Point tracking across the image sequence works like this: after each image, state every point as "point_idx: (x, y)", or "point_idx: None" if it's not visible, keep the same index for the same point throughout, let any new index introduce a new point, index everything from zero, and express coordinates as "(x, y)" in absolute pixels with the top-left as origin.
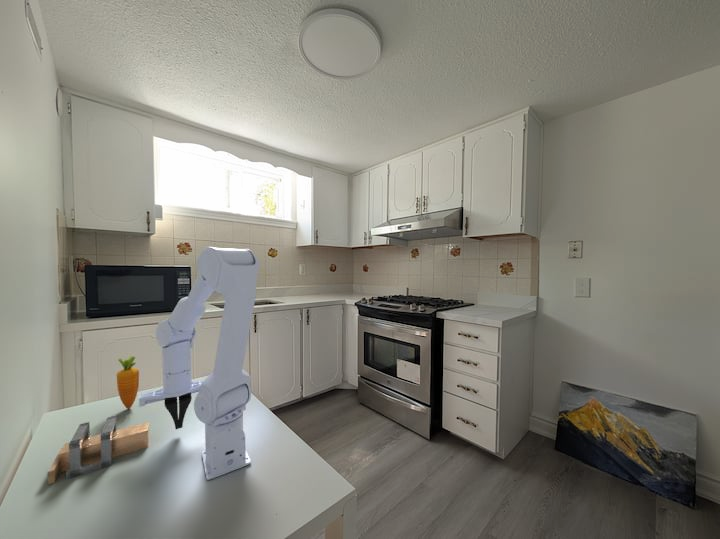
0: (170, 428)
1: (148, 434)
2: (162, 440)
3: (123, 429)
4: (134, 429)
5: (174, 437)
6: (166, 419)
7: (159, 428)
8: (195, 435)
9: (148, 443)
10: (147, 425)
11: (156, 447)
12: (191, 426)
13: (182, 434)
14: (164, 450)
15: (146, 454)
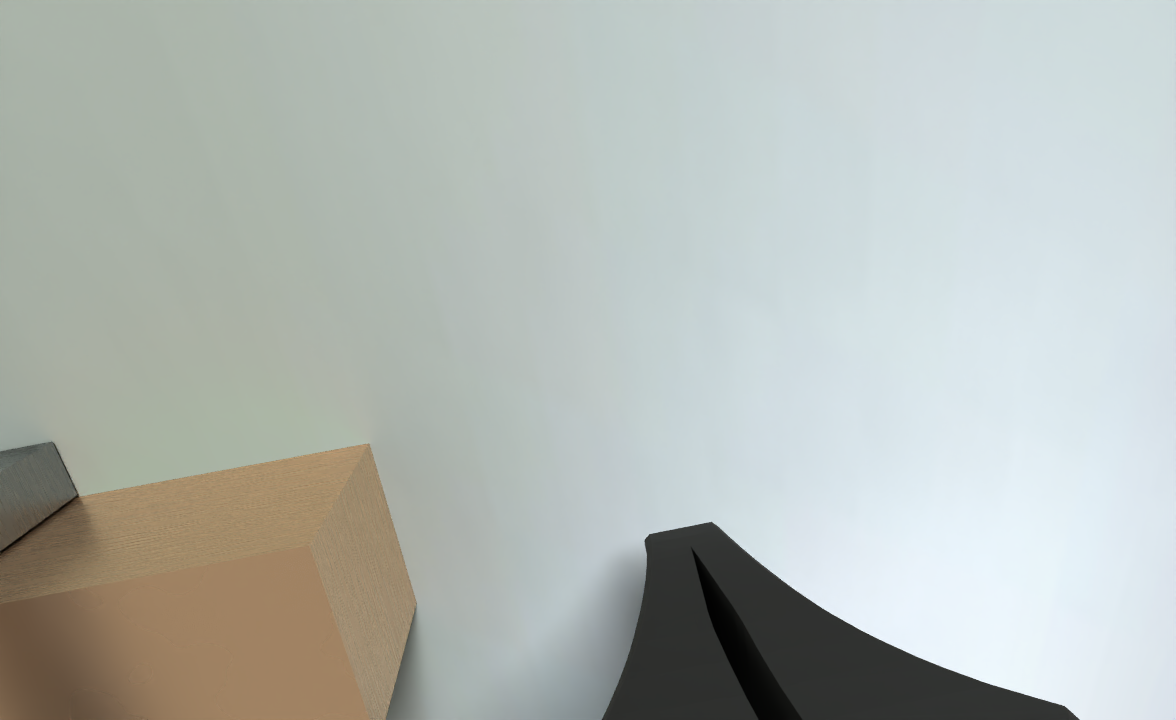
0: (553, 330)
1: (376, 593)
2: (523, 546)
3: (17, 629)
4: (186, 674)
5: (627, 536)
6: (446, 33)
7: (421, 272)
8: (814, 573)
9: (403, 566)
10: (325, 627)
11: (497, 640)
12: (775, 383)
13: (696, 510)
14: (577, 703)
15: (441, 709)
